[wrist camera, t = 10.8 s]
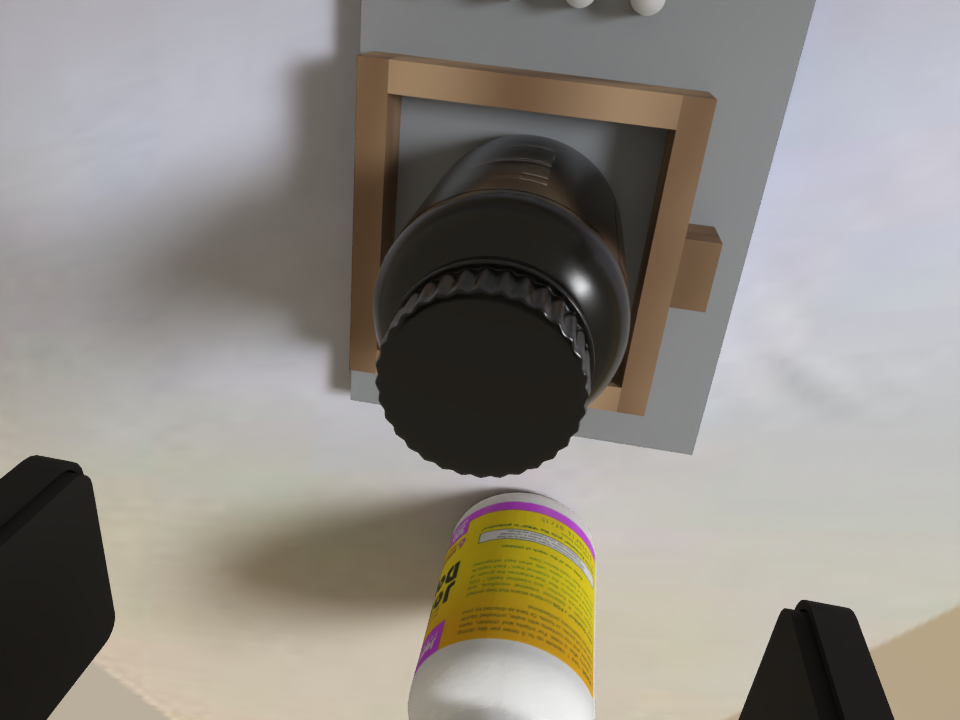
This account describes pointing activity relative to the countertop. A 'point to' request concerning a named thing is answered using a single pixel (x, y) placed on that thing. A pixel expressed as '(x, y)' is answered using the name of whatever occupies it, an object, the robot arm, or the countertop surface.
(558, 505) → the supplement bottle
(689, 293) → the frame
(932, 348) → the countertop surface
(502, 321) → the supplement bottle
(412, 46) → the board
